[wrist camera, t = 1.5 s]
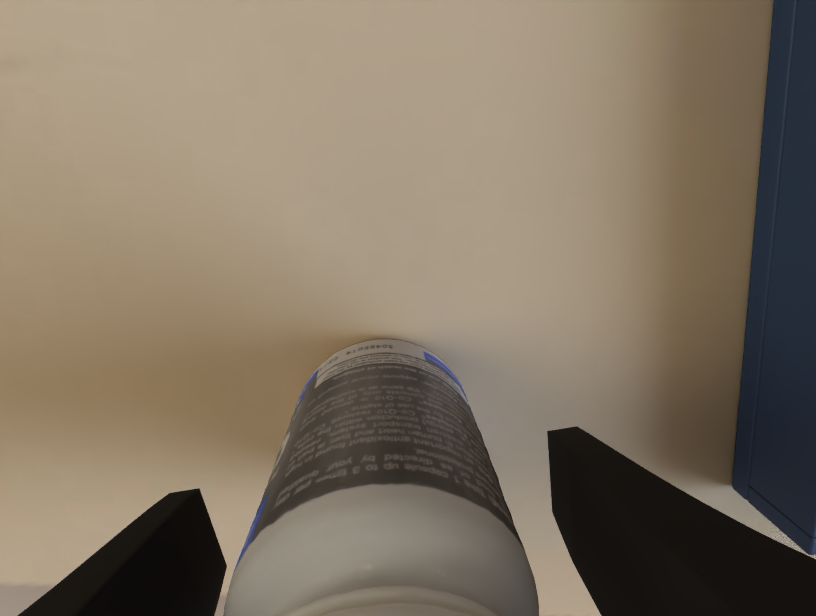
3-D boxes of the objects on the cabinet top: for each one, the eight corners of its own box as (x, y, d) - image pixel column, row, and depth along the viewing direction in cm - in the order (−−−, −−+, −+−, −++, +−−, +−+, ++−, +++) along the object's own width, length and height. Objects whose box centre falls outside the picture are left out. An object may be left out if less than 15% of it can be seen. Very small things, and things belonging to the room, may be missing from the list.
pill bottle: (273, 364, 11) (15, 791, 3) (441, 314, 11) (580, 635, 3) (333, 502, 13) (247, 1038, 5) (483, 458, 13) (655, 936, 5)
